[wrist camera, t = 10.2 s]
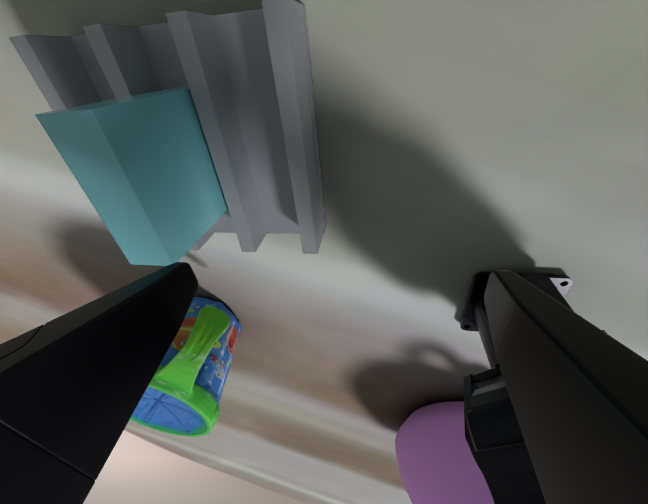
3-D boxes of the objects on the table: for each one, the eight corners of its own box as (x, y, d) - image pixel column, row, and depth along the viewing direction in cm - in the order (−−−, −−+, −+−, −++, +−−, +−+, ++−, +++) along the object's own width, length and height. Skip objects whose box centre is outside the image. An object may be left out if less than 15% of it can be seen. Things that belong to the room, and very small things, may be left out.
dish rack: (326, 227, 21) (318, 253, 19) (162, 225, 24) (134, 248, 21) (304, 5, 14) (285, -6, 11) (70, 39, 17) (8, 37, 14)
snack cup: (218, 361, 37) (173, 449, 29) (145, 319, 34) (71, 404, 26) (287, 314, 29) (250, 419, 21) (199, 252, 25) (115, 347, 17)
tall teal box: (239, 196, 20) (173, 266, 14) (208, 197, 20) (130, 264, 14) (206, 84, 16) (91, 109, 10) (169, 88, 16) (35, 114, 10)
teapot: (520, 473, 42) (570, 626, 31) (377, 439, 43) (376, 573, 32) (637, 409, 28) (798, 638, 17) (424, 363, 30) (448, 548, 19)
